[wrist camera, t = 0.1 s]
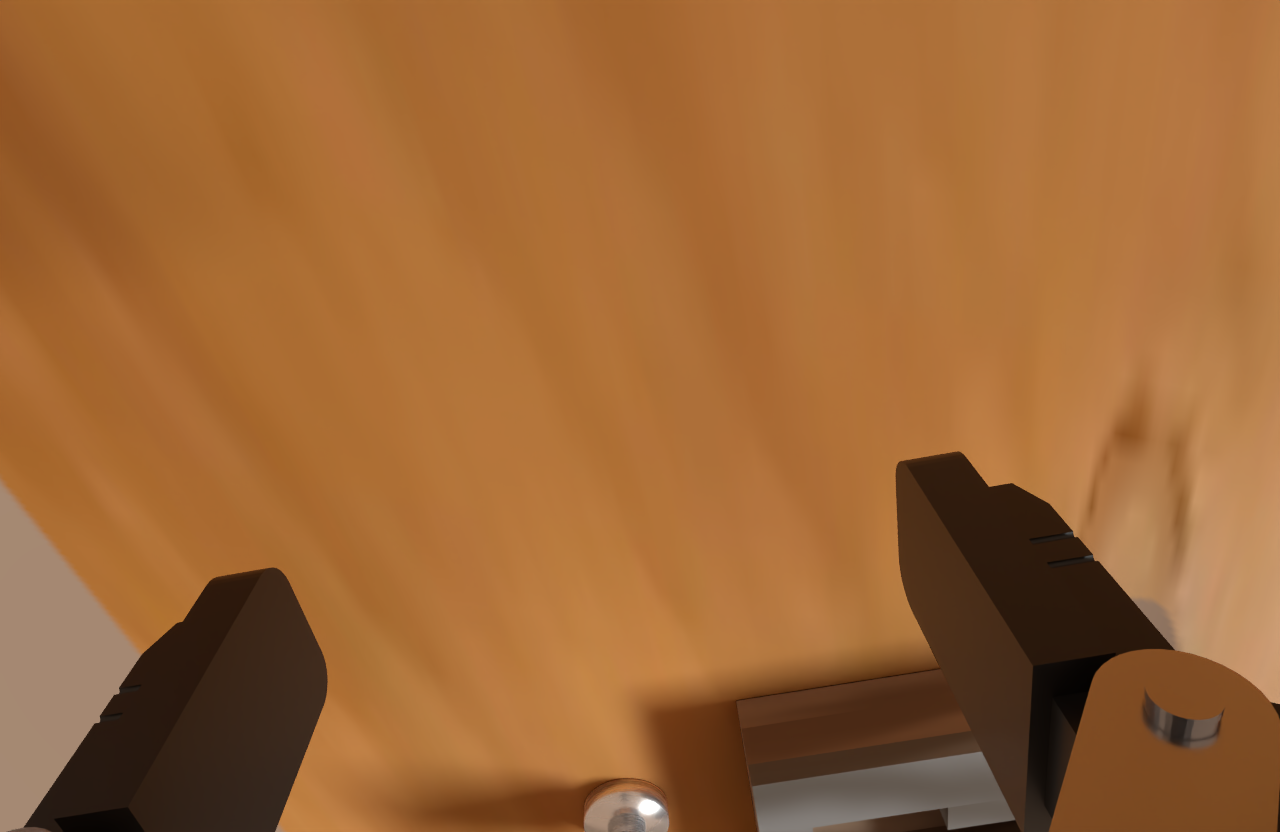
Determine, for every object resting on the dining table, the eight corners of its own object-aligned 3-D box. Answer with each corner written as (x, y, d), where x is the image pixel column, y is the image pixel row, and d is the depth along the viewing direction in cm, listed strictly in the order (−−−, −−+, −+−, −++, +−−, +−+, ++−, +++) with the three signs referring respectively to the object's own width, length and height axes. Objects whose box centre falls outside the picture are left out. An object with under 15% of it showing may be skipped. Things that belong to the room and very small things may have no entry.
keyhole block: (736, 701, 37) (752, 786, 33) (1149, 636, 36) (1213, 716, 32) (762, 862, 43) (778, 950, 39) (1117, 810, 42) (1168, 894, 38)
